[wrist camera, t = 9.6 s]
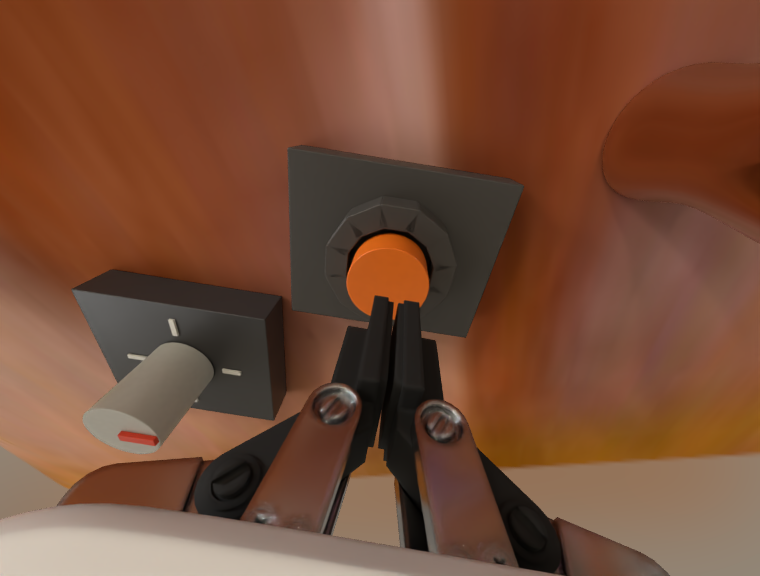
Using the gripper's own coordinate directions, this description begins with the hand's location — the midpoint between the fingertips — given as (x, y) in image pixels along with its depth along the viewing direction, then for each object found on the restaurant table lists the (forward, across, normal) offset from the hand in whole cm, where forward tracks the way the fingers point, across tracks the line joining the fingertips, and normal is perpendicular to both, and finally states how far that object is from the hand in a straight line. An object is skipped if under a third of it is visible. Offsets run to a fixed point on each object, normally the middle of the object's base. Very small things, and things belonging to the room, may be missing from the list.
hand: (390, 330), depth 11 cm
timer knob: (+6, +14, +11) cm, 19 cm away
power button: (+5, 0, 0) cm, 5 cm away
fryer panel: (+9, +14, +11) cm, 20 cm away
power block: (+9, 0, 0) cm, 9 cm away
